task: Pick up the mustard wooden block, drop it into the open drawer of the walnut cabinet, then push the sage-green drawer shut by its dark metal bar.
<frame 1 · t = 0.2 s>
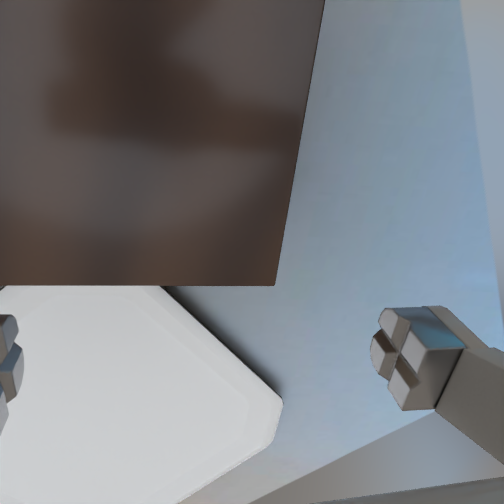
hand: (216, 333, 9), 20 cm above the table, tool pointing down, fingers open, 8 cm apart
plate: (95, 412, 36), on the table
cabinet: (137, 115, 25), on the table
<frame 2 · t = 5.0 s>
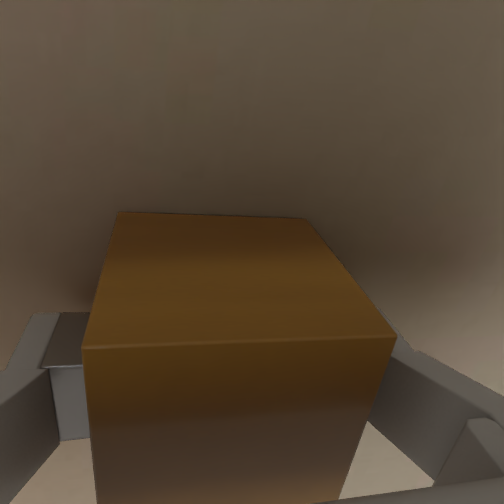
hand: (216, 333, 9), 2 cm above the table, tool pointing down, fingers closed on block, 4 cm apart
block: (210, 293, 10), on the table, touching gripper
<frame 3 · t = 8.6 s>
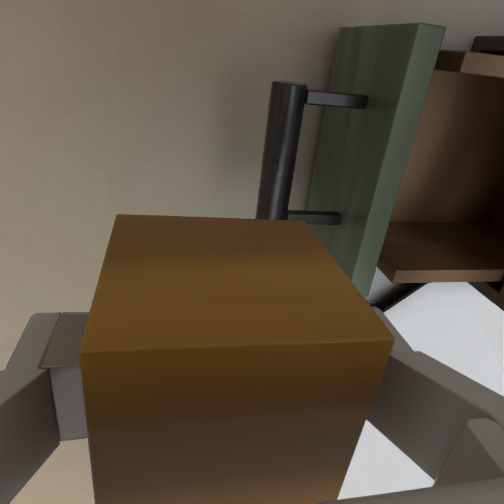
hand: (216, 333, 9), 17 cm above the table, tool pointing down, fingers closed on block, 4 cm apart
drawer: (424, 164, 22), point 5 cm above the table, slide at 8.0 cm
plate: (385, 412, 40), on the table
block: (209, 295, 10), point 16 cm above the table, touching gripper
when the fingers open (9 cm above the table, at t = 12.2 s): block drops 5 cm, resting on drawer.
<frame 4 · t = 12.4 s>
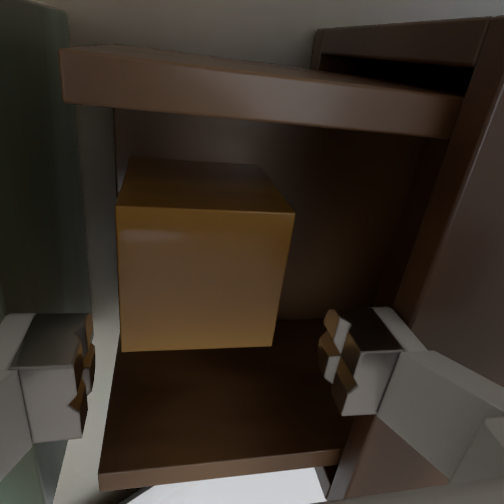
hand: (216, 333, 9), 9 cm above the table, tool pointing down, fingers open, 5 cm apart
drawer: (190, 255, 12), point 5 cm above the table, slide at 8.2 cm, touching block, gripper
cabinet: (439, 212, 19), on the table
block: (194, 220, 15), point 2 cm above the table, touching drawer
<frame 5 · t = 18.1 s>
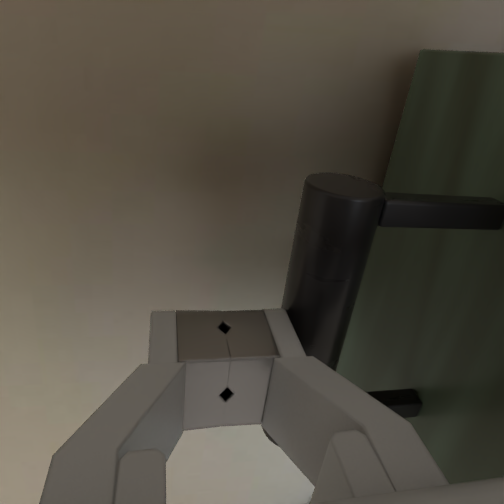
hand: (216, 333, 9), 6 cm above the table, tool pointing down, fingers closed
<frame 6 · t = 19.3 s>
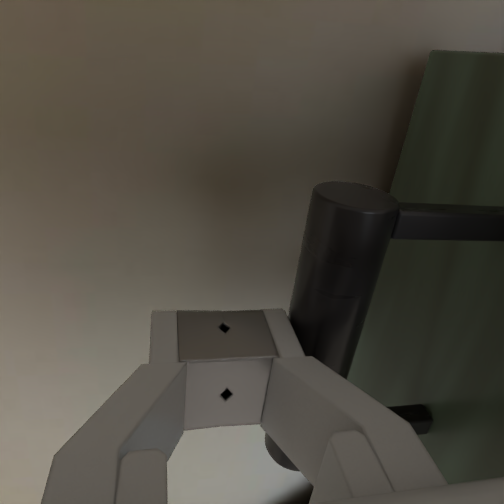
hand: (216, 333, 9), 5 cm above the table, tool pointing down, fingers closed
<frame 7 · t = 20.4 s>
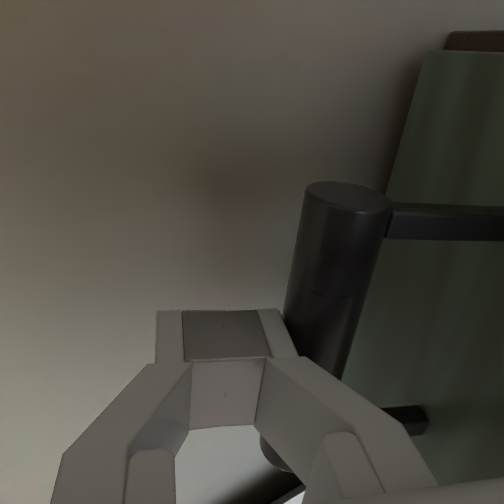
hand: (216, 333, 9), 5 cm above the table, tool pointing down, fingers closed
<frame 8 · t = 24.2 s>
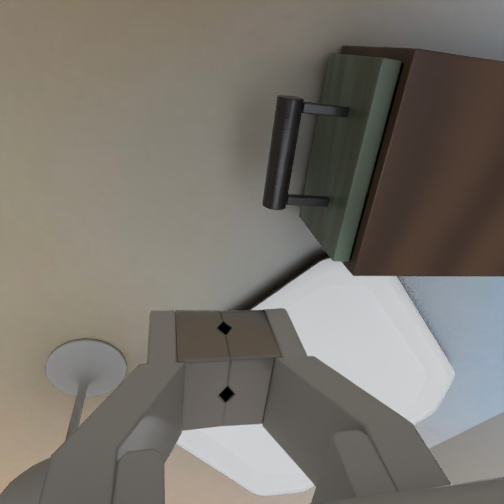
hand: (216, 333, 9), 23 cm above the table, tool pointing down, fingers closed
wineglass: (87, 366, 38), on the table
drawer: (395, 160, 28), point 5 cm above the table, slide at 0.0 cm, touching block, cabinet
plate: (305, 382, 45), on the table
cabinet: (409, 148, 33), on the table
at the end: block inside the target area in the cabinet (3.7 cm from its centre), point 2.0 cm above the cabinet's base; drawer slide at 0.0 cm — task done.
